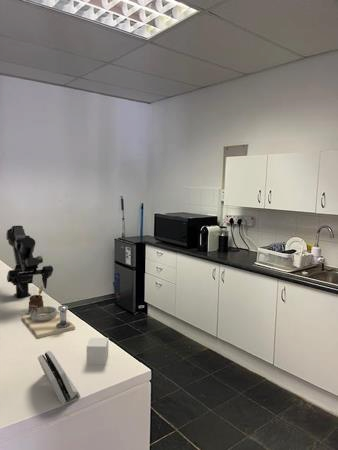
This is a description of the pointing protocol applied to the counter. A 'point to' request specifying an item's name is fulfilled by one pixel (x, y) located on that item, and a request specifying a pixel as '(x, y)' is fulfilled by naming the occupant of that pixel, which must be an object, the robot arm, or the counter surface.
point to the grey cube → (97, 351)
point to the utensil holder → (35, 300)
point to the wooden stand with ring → (48, 321)
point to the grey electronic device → (57, 377)
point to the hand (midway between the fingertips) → (34, 289)
